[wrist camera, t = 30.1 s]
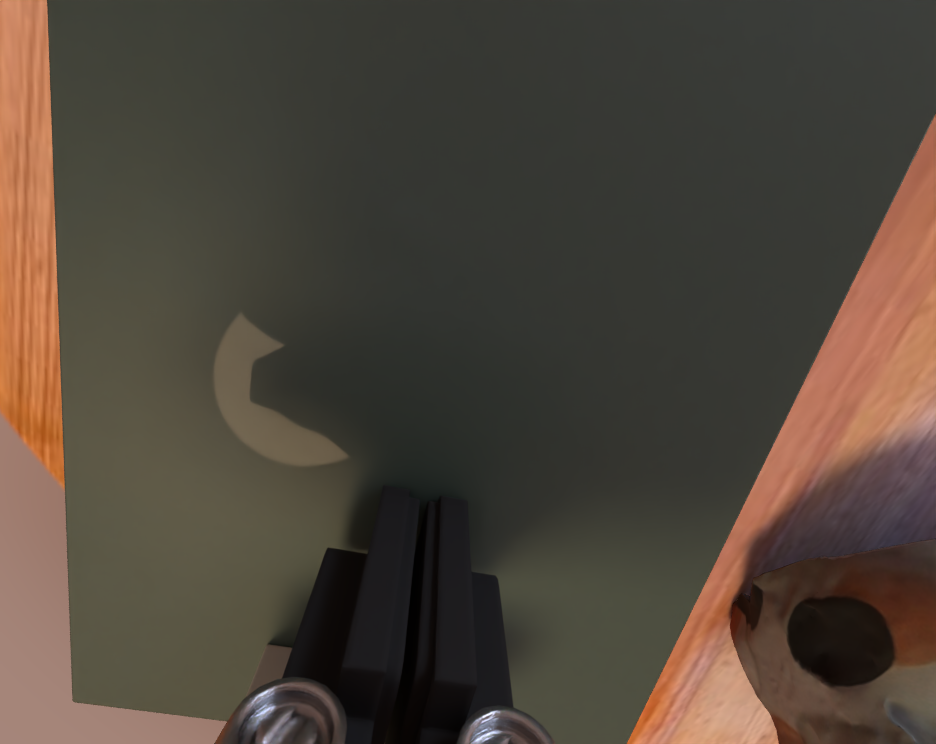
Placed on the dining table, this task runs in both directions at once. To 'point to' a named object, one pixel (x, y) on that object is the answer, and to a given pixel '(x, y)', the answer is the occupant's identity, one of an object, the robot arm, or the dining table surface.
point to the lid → (446, 307)
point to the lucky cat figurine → (845, 646)
